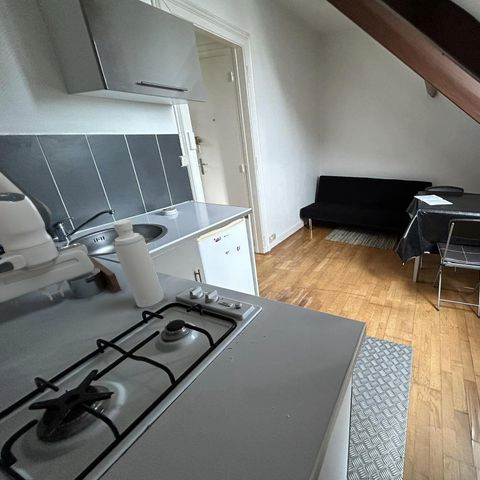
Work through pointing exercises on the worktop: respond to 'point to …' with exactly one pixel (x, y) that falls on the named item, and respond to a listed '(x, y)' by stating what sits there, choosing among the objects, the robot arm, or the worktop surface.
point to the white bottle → (137, 265)
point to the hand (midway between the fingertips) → (57, 297)
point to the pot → (87, 284)
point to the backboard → (107, 275)
